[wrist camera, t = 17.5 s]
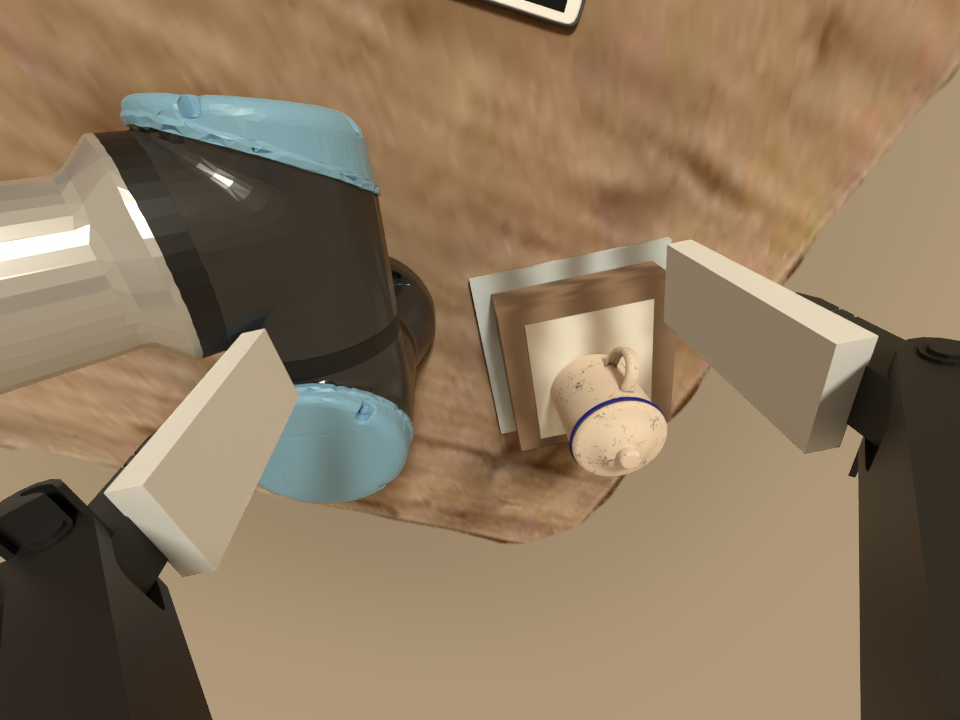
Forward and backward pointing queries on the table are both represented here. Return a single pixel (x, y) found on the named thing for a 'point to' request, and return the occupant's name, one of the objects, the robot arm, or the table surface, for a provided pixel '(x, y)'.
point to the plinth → (572, 330)
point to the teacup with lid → (608, 413)
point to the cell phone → (545, 10)
